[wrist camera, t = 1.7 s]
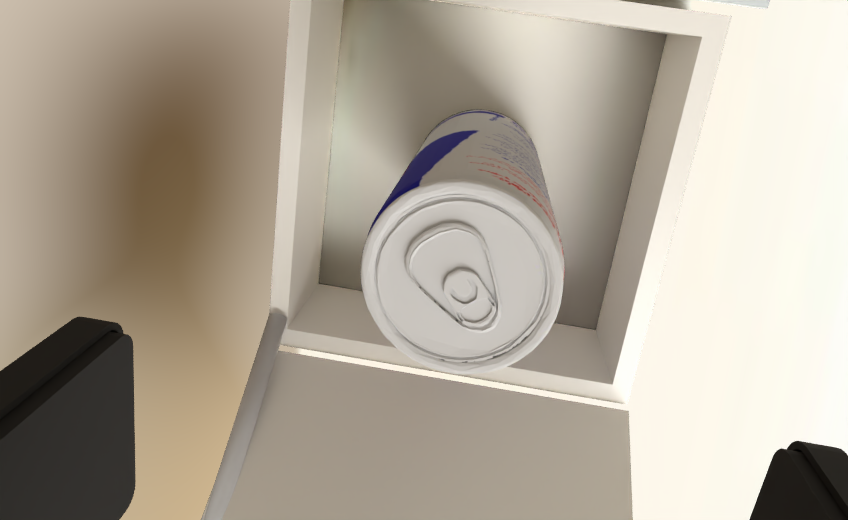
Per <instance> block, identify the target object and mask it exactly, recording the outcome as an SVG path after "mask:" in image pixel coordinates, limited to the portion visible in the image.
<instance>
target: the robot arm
mask: <svg viewBox="0 0 848 520" xmlns="http://www.w3.org/2000/svg"><path fill="white" fill-rule="evenodd" d="M133 373H134V372H133V341H132V339H131V337H130V336H129V335H126V334H123V330H122V328H121V326H120V325H119V324H118V323H115V322H109V321H102V320H97V319H92V318H86V317H77V318H74V319H72V320H71V321H70V322H68V323H67V324H65V325H64V326H63V327H61V328H60V329H58V330H57V331H56V332H54V333H53V334H51V335H50V336H49V337H47V338H46V339H44V340H43V341H42V342H40V343H39V344H38V345H36V346H35V347H33V348H32V349H30V350H29V351H28V352H26V353H25V354H24V355H22V356H21V357H19V358H18V359H17V360H15V361H14V362H12V363H11V364H10V365H8V366H7V367H5V368H4V369H3V370H1V371H0V520H119V519H120V518H121V517H122V515H123V514H124V513H125V511H126V510H127V508H128V507H129V504H130V503H131V500H132V497H133V494H134V490H135V435H134V434H135V433H134V377H133V376H134V375H133ZM750 520H848V455H847V454H846V453H845V452H844V451H843V450H842V449H839V448H835V447H829V446H824V445H818V444H812V443H806V442H801V441H795V442H793V443H791V444H790V446H789V447H788V448H787V450H786V449H779V450H777V452H776V453H775V454H774V456H773V458H772V461H771V463H770V466H769V469H768V471H767V474H766V477H765V480H764V482H763V485H762V488H761V490H760V493H759V496H758V498H757V501H756V504H755V506H754V509H753V512H752V515H751V517H750Z"/></svg>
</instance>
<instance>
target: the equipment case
mask: <svg viewBox="0 0 848 520" xmlns="http://www.w3.org/2000/svg"><path fill="white" fill-rule="evenodd" d="M430 1H437V2H444V3H451V4H458V5H465V6H472V7H479V8H486V9H493V10H500V11H507V12H514V13H521V14H528V15H535V16H542V17H549V18H556V19H563V20H570V21H577V22H584V23H591V24H598V25H605V26H612V27H619V28H626V29H633V30H640V31H647V32H654V33H661V34H667V37H666V41H665V45H664V49H663V53H662V58H661V62H660V66H659V70H658V74H657V78H656V82H655V87H654V91H653V95H652V99H651V103H650V107H649V112H648V116H647V120H646V124H645V128H644V132H643V136H642V141H641V145H640V149H639V153H638V157H637V161H636V166H635V170H634V174H633V178H632V182H631V186H630V190H629V195H628V199H627V203H626V207H625V211H624V215H623V220H622V224H621V228H620V232H619V236H618V240H617V244H616V249H615V253H614V257H613V261H612V265H611V269H610V274H609V278H608V282H607V286H606V290H605V294H604V298H603V303H602V307H601V311H600V315H599V319H598V323H597V328H596V330H593V329H587V328H581V327H575V326H569V325H563V324H557V323H553V325H552V327H551V329H550V331H549V333H548V334H547V335H546V336H545V338H544V339H543V340H542V342H541V343H540V344H539V345H538V346H537V347H536V348H535V349H534V350H533V351H532V352H530V353H529V354H527V355H526V356H525V357H523V358H522V359H520V360H519V361H517V362H515V363H513V364H511V365H509V366H507V367H505V368H502V369H500V370H496V371H492V372H488V373H478V374H454V373H449V372H443V371H439V370H436V369H432V368H430V367H428V366H425V365H423V364H420V363H418V362H417V361H415V360H413V359H411V358H409V357H408V356H407V355H405V354H404V353H402V352H401V351H400V350H398V349H397V348H396V347H395V346H394V345H393V344H392V343H391V342H390V341H389V340H388V339H387V338H386V337H385V336H384V334H383V333H382V332H381V330H380V329H379V327H378V326H377V324H376V323H375V321H374V319H373V317H372V315H371V313H370V312H369V310H368V307H367V304H366V301H365V298H364V294H363V291H359V290H353V289H347V288H341V287H335V286H329V285H323V284H319V273H320V262H321V251H322V240H323V228H324V217H325V206H326V195H327V184H328V173H329V162H330V151H331V140H332V128H333V117H334V106H335V95H336V84H337V73H338V62H339V51H340V40H341V29H342V17H343V6H344V0H290V7H289V9H290V10H289V23H288V38H287V54H286V69H285V84H284V100H283V115H282V130H281V145H280V160H279V176H278V192H277V207H276V222H275V238H274V252H273V268H272V283H271V298H270V313H269V317H268V320H267V323H266V326H265V329H264V333H263V336H262V338H261V341H260V345H259V348H258V351H257V354H256V357H255V360H254V363H253V366H252V369H251V372H250V376H249V379H248V382H247V385H246V388H245V391H244V394H243V397H242V400H241V403H240V406H239V409H238V413H237V416H236V419H235V422H234V425H233V428H232V431H231V434H230V437H229V440H228V443H227V447H226V450H225V453H224V456H223V459H222V462H221V465H220V468H219V471H218V474H217V477H216V480H215V484H214V486H213V489H212V491H211V494H210V497H209V500H208V502H207V505H206V508H205V510H204V513H203V516H202V519H201V520H633V517H632V490H631V463H630V436H629V411H625V410H619V409H613V408H607V407H601V406H596V405H590V404H584V403H578V402H572V401H567V400H561V399H555V398H549V397H543V396H538V395H532V394H526V393H520V392H515V391H509V390H503V389H497V388H491V387H486V386H480V385H474V384H468V383H462V382H457V381H451V380H445V379H439V378H433V377H428V376H422V375H416V374H410V373H404V372H399V371H393V370H387V369H381V368H376V367H370V366H364V365H358V364H352V363H347V362H341V361H335V360H329V359H323V358H318V357H312V356H306V355H300V354H294V353H289V352H283V351H278V349H279V346H280V345H284V346H290V347H296V348H302V349H307V350H313V351H319V352H325V353H331V354H336V355H342V356H348V357H354V358H360V359H366V360H371V361H377V362H383V363H389V364H395V365H400V366H406V367H412V368H418V369H424V370H429V371H435V372H441V373H447V374H453V375H458V376H464V377H470V378H476V379H482V380H488V381H493V382H499V383H505V384H511V385H517V386H522V387H528V388H534V389H540V390H546V391H551V392H557V393H563V394H569V395H575V396H580V397H586V398H592V399H598V400H604V401H609V402H615V403H621V404H628V400H629V397H630V393H631V389H632V386H633V382H634V378H635V374H636V371H637V367H638V363H639V359H640V356H641V352H642V348H643V345H644V341H645V337H646V333H647V330H648V326H649V322H650V318H651V315H652V311H653V307H654V304H655V300H656V296H657V292H658V289H659V285H660V281H661V278H662V274H663V270H664V266H665V263H666V259H667V255H668V251H669V248H670V244H671V240H672V237H673V233H674V229H675V225H676V222H677V218H678V214H679V210H680V207H681V203H682V199H683V196H684V192H685V188H686V184H687V181H688V177H689V173H690V169H691V166H692V162H693V158H694V155H695V151H696V147H697V143H698V140H699V136H700V132H701V128H702V125H703V121H704V117H705V114H706V110H707V106H708V102H709V99H710V95H711V91H712V87H713V84H714V80H715V76H716V73H717V69H718V65H719V61H720V58H721V54H722V50H723V46H724V43H725V39H726V35H727V32H728V28H729V24H730V20H731V17H732V16H727V15H720V14H712V13H705V12H698V11H691V10H684V9H677V8H670V7H663V6H655V5H648V4H641V3H634V2H627V1H620V0H430Z"/></svg>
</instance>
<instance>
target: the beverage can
mask: <svg viewBox="0 0 848 520" xmlns="http://www.w3.org/2000/svg"><path fill="white" fill-rule="evenodd" d="M564 274H565V267H564V253H563V247H562V243H561V239H560V235H559V232H558V228H557V224H556V221H555V217H554V213H553V210H552V206H551V202H550V199H549V195H548V191H547V188H546V184H545V180H544V176H543V173H542V169H541V165H540V162H539V158H538V154H537V151H536V148H535V146H534V144H533V142H532V140H531V138H530V137H529V136H528V134H527V133H526V131H525V130H524V129H523V128H522V127H521V126H520V125H519V124H517V123H516V122H515V121H513V120H512V119H510V118H508V117H506V116H504V115H502V114H500V113H497V112H493V111H488V110H468V111H464V112H460V113H457V114H454V115H452V116H450V117H448V118H447V119H445V120H443V121H442V122H441V123H439V124H438V125H437V126H436V127H435V128H434V129H433V130H432V131H431V132H430V134H429V135H428V136H427V138H426V139H425V141H424V143H423V145H422V146H421V148H420V149H419V151H418V152H417V154H416V155H415V157H414V159H413V160H412V162H411V163H410V165H409V166H408V168H407V169H406V171H405V173H404V174H403V176H402V177H401V179H400V180H399V182H398V183H397V185H396V187H395V188H394V190H393V191H392V193H391V194H390V196H389V197H388V199H387V201H386V202H385V204H384V205H383V207H382V208H381V210H380V211H379V213H378V214H377V216H376V218H375V220H374V222H373V223H372V226H371V228H370V231H369V234H368V237H367V240H366V243H365V246H364V249H363V254H362V260H361V284H362V289H363V294H364V298H365V301H366V304H367V307H368V310H369V312H370V313H371V315H372V317H373V319H374V321H375V323H376V324H377V326H378V327H379V329H380V330H381V332H382V333H383V334H384V336H385V337H386V338H387V339H388V340H389V341H390V342H391V343H392V344H393V345H394V346H395V347H396V348H397V349H398V350H400V351H401V352H402V353H404V354H405V355H407V356H408V357H409V358H411V359H413V360H415V361H417V362H418V363H420V364H423V365H425V366H428V367H430V368H432V369H436V370H439V371H443V372H449V373H454V374H478V373H488V372H492V371H496V370H500V369H502V368H505V367H507V366H509V365H511V364H513V363H515V362H517V361H519V360H520V359H522V358H523V357H525V356H526V355H527V354H529V353H530V352H532V351H533V350H534V349H535V348H536V347H537V346H538V345H539V344H540V343H541V342H542V340H543V339H544V338H545V336H546V335H547V334H548V333H549V331H550V329H551V327H552V325H553V323H554V321H555V319H556V317H557V314H558V311H559V308H560V305H561V299H562V293H563V284H564V283H563V280H564Z"/></svg>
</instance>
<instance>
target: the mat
mask: <svg viewBox="0 0 848 520" xmlns="http://www.w3.org/2000/svg"><path fill="white" fill-rule="evenodd" d="M701 1H708V2H716V3H723V4H730V5H737V6H744V7H751V8H759V9H766V8H768V5H769V2H770V0H701Z"/></svg>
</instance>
